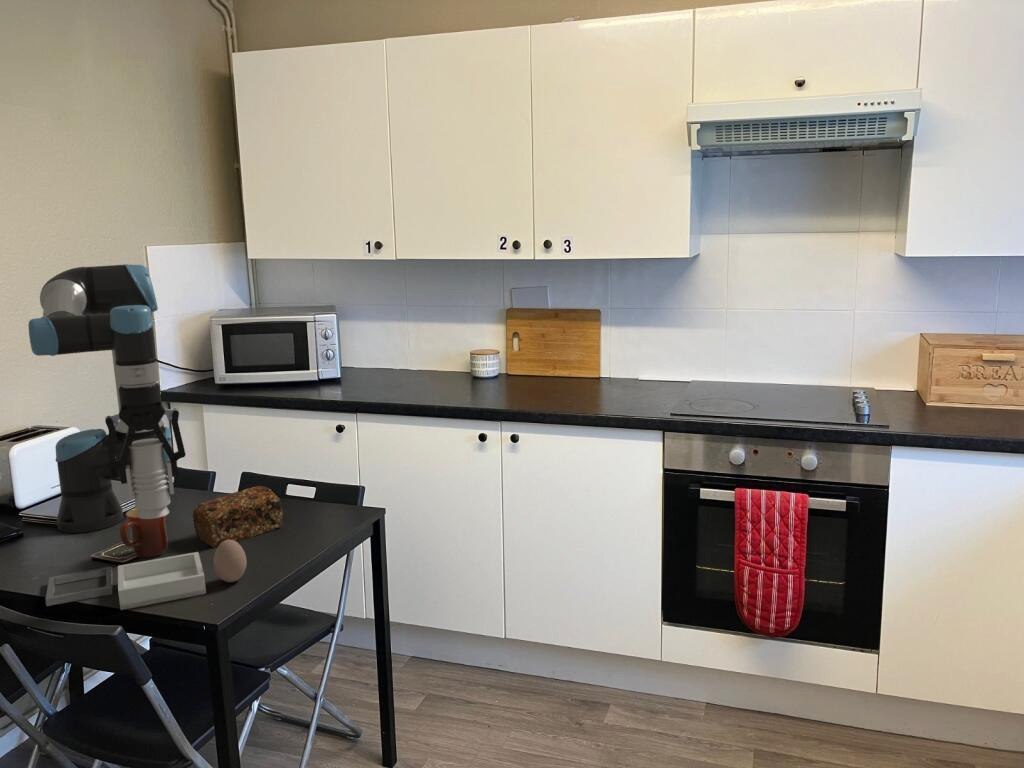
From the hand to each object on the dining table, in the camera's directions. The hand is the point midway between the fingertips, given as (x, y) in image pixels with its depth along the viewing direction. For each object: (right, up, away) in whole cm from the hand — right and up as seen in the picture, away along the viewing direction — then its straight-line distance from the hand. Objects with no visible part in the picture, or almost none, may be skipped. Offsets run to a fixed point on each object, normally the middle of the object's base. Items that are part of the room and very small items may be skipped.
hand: (151, 494), depth 175 cm
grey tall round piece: (0, -4, +1) cm, 4 cm away
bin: (+1, -20, +4) cm, 20 cm away
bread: (+7, -14, +35) cm, 38 cm away
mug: (-10, -17, +22) cm, 30 cm away
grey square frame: (-17, -20, +5) cm, 27 cm away
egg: (+14, -19, +7) cm, 25 cm away
